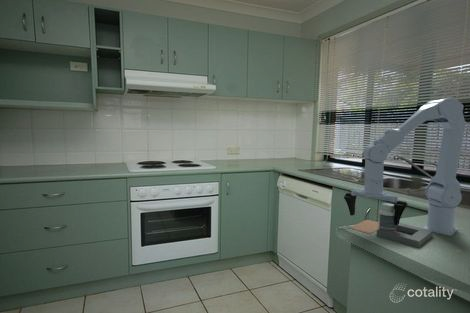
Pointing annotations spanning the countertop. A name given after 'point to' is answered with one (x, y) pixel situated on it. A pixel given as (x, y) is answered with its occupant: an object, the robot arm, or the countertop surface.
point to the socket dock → (415, 240)
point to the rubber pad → (366, 226)
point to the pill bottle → (387, 217)
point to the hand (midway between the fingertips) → (372, 219)
